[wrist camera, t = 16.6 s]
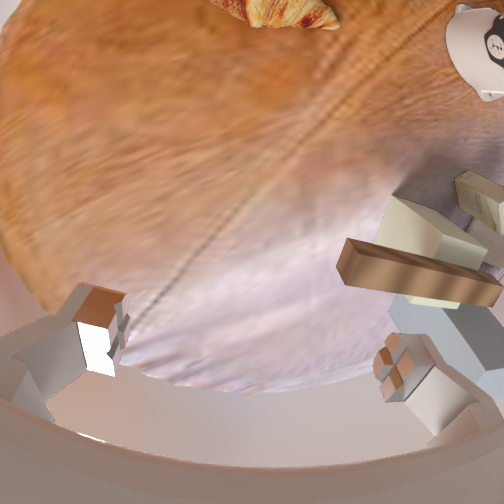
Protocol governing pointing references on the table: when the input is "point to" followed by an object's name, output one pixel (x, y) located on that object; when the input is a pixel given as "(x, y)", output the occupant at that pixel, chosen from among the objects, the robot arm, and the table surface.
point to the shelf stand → (459, 339)
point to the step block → (428, 240)
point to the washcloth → (488, 242)
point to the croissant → (281, 13)
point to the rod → (414, 275)
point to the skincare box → (481, 199)
